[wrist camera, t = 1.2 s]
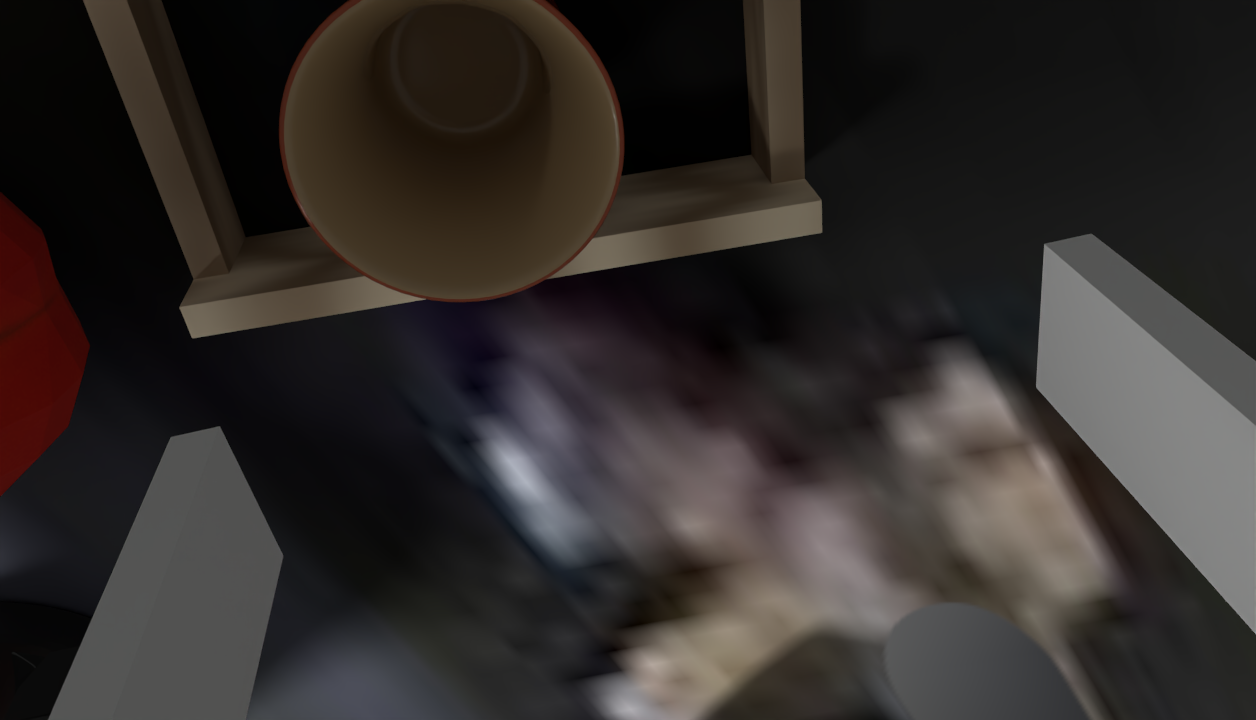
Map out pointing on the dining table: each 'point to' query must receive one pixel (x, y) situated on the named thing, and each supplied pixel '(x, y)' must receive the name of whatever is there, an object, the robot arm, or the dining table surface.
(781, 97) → the tan wooden shallow box
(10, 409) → the tomato
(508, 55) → the mug
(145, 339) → the dining table surface
